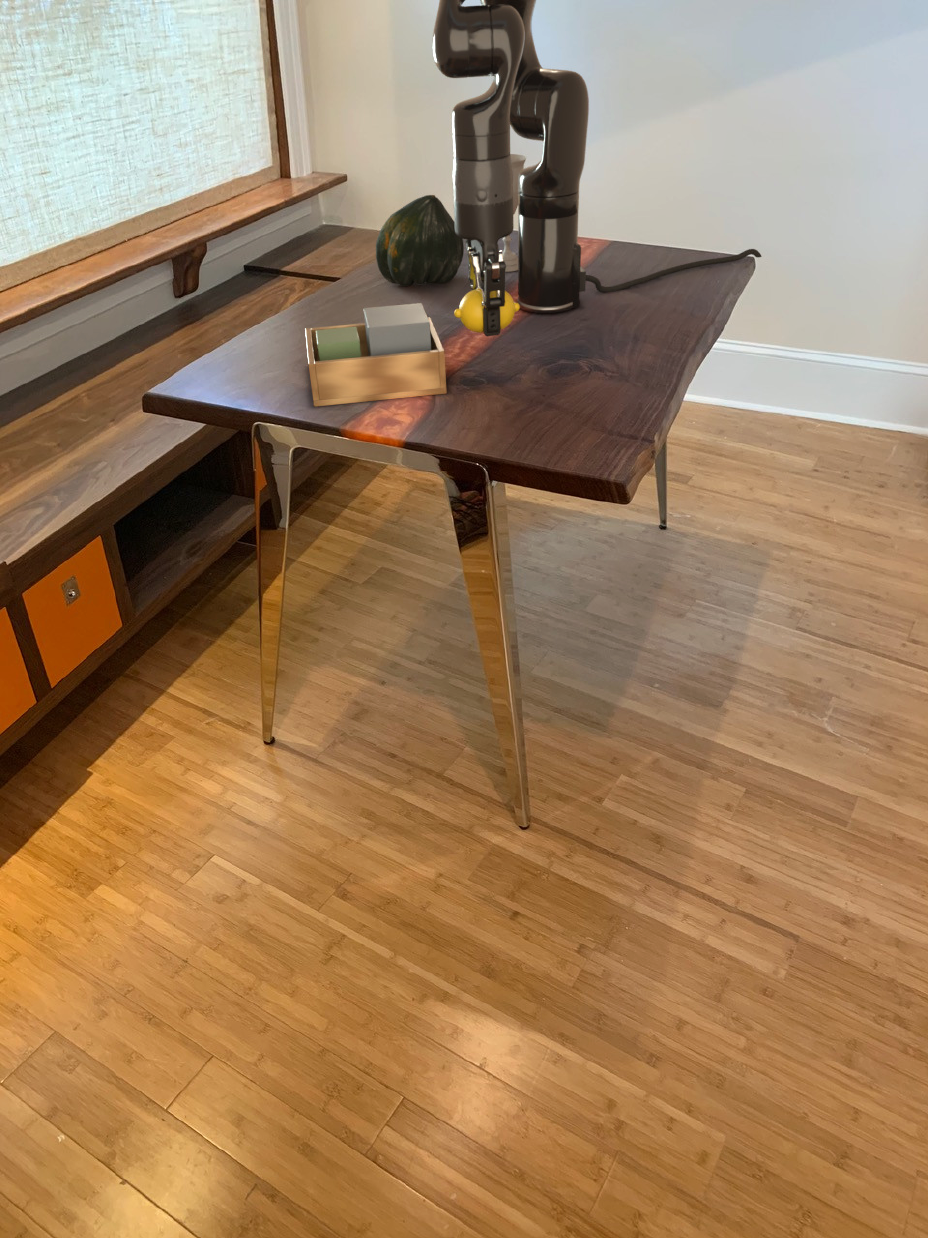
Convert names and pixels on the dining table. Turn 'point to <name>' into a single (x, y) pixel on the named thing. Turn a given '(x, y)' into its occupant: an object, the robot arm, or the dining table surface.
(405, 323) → the block grey
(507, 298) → the lemon
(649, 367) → the dining table surface
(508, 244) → the chalice
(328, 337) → the block sage
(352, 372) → the crate
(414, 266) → the squash
